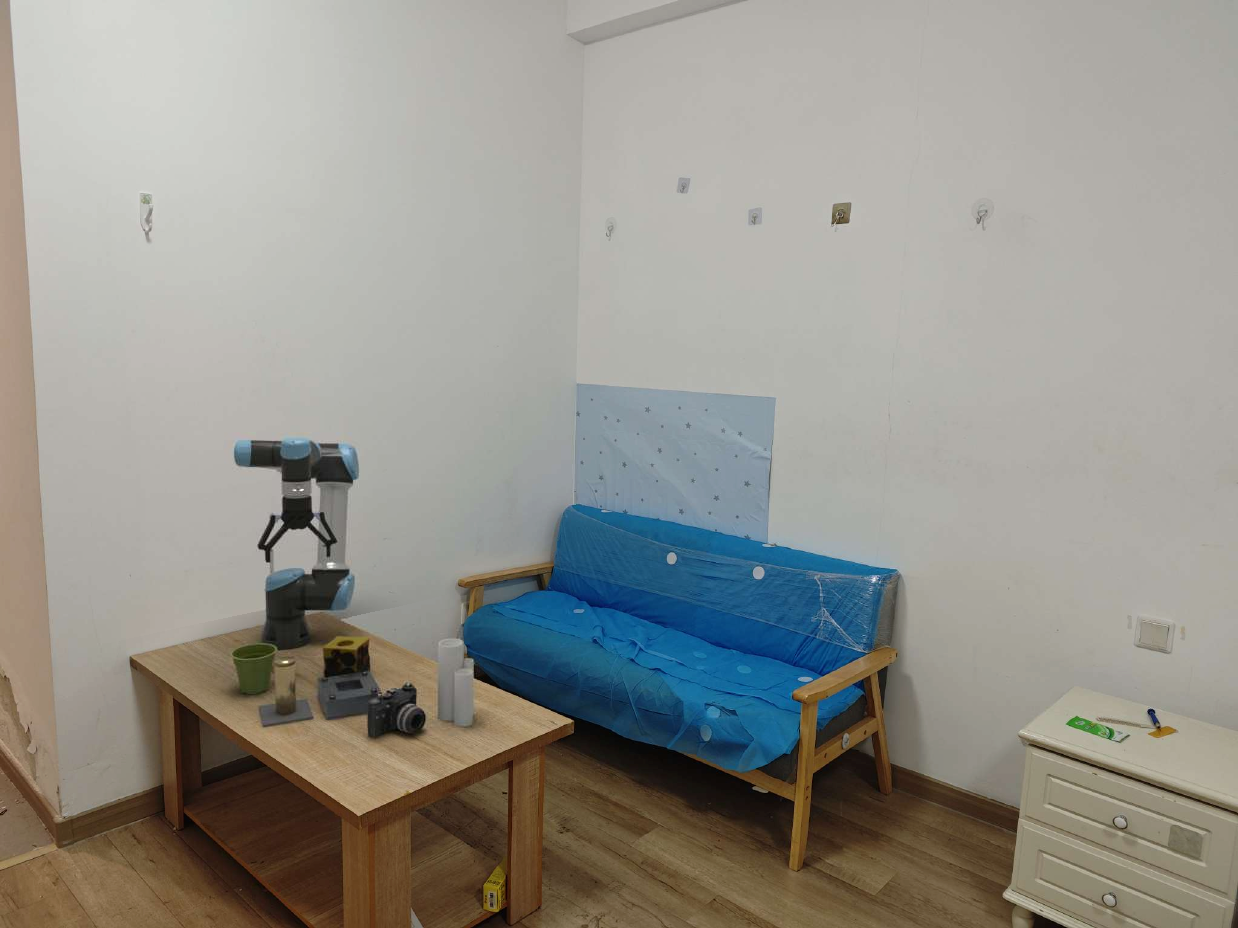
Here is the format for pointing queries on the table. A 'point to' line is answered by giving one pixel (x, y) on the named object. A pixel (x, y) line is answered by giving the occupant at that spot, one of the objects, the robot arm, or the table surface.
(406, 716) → the camera
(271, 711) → the mat
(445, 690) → the grey cylinder cluster
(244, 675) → the plant pot
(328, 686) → the housing
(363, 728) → the table surface
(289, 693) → the plug
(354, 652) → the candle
